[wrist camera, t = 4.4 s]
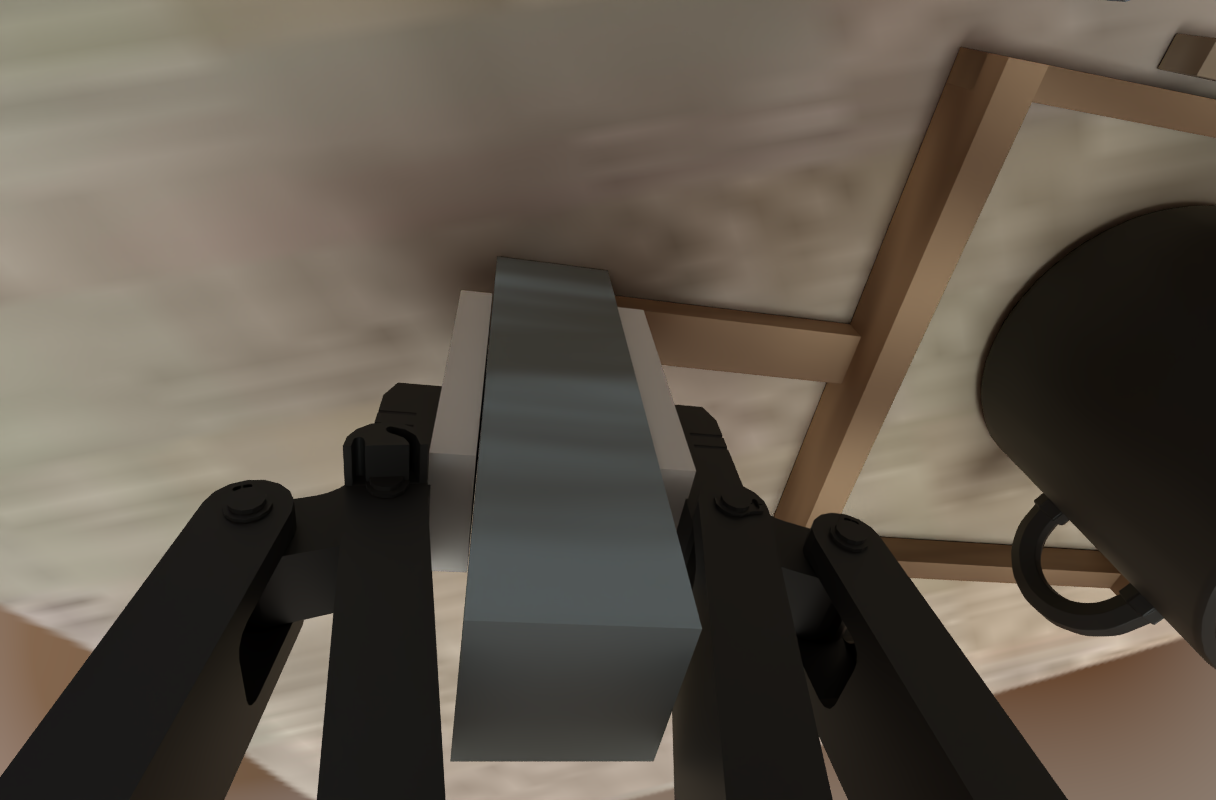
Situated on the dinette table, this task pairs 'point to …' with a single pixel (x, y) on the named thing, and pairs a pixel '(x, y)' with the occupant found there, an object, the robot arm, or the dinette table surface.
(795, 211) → the dinette table surface
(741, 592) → the robot arm
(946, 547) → the wooden frame with post
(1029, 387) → the mug
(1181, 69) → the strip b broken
